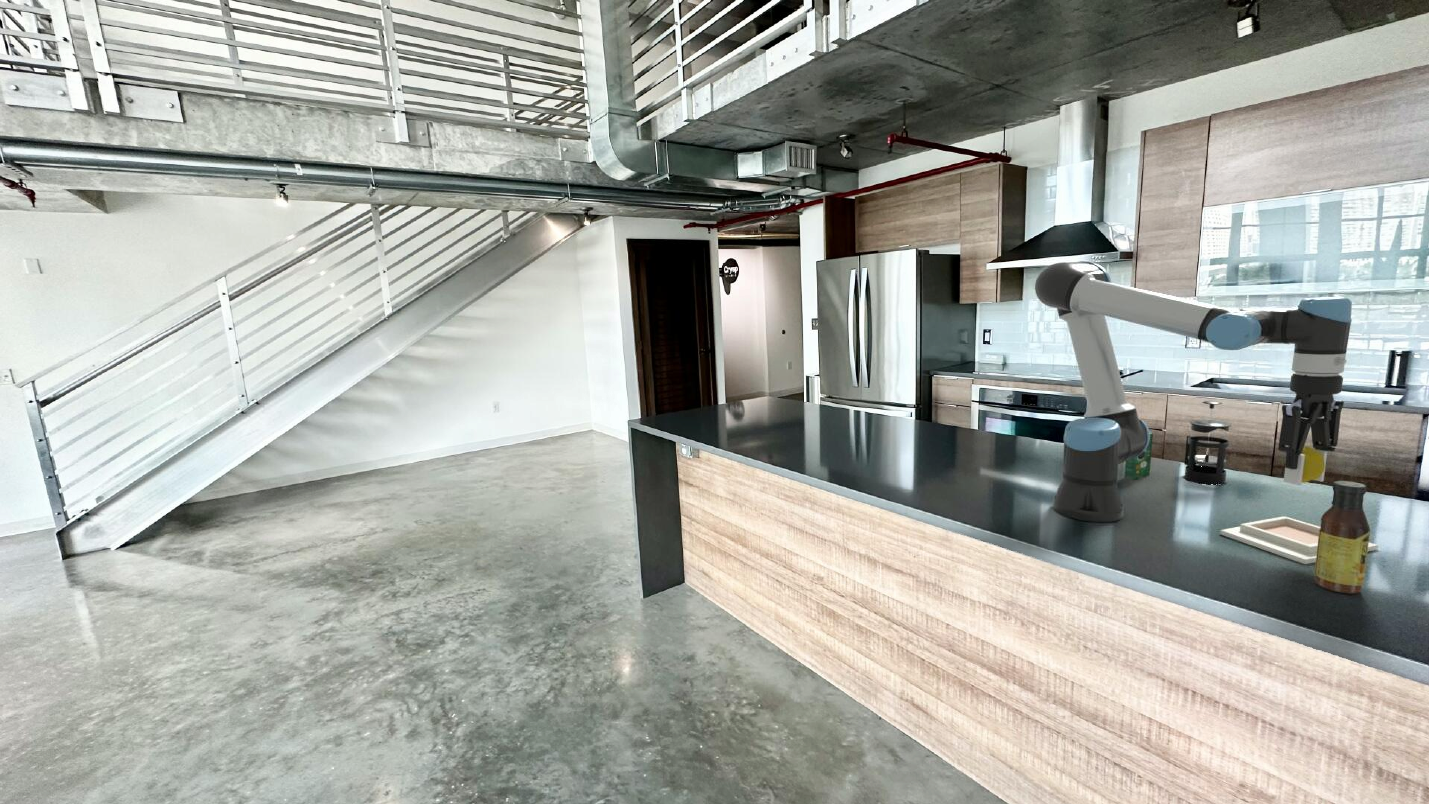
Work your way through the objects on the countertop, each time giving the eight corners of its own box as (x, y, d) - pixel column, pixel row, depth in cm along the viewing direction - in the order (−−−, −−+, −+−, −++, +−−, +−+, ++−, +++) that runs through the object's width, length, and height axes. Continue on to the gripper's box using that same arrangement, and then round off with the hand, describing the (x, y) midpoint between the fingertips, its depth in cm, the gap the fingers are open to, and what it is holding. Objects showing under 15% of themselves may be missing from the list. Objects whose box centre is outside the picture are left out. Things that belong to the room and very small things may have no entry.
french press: (1237, 485, 161) (1246, 403, 157) (1204, 487, 161) (1212, 405, 157) (1201, 472, 173) (1208, 396, 169) (1170, 474, 173) (1177, 398, 169)
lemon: (1316, 488, 120) (1320, 451, 119) (1280, 482, 125) (1284, 445, 124) (1326, 483, 123) (1331, 446, 122) (1291, 477, 128) (1295, 441, 126)
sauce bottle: (1368, 598, 104) (1384, 492, 100) (1318, 591, 107) (1333, 487, 103) (1353, 582, 109) (1369, 481, 105) (1307, 575, 112) (1320, 477, 109)
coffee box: (1140, 472, 176) (1143, 430, 173) (1150, 475, 173) (1154, 432, 171) (1123, 477, 173) (1126, 434, 170) (1133, 480, 170) (1137, 436, 168)
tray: (1304, 564, 117) (1306, 552, 116) (1220, 534, 132) (1221, 523, 132) (1377, 549, 121) (1379, 538, 121) (1287, 522, 136) (1288, 512, 136)
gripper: (1305, 379, 114) (1291, 492, 118) (1373, 371, 118) (1357, 481, 122) (1261, 375, 122) (1250, 481, 126) (1327, 368, 126) (1314, 471, 130)
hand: (1303, 481), depth 124 cm, fingers closed on lemon, 5 cm apart
